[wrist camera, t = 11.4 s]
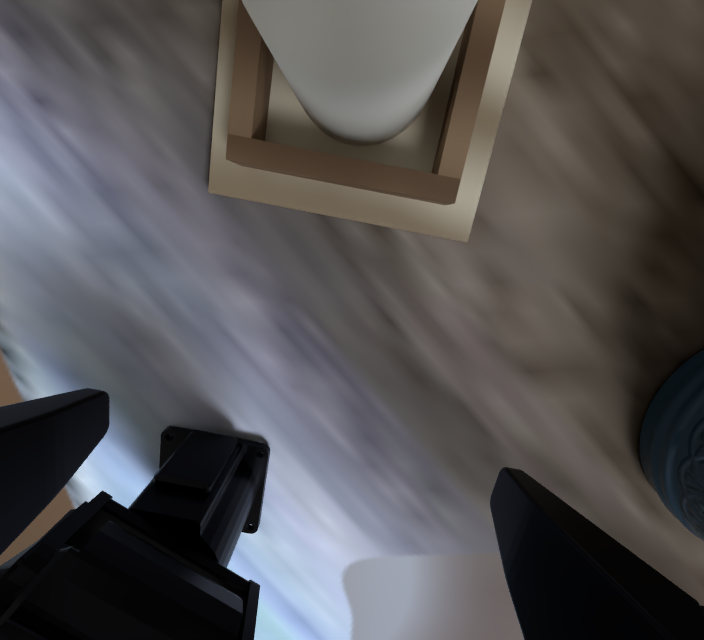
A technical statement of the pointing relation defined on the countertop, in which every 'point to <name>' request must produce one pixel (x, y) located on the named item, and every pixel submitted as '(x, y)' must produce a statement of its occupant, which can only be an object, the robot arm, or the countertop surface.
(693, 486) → the canister
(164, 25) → the countertop surface
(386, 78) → the towel roll
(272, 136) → the holder
